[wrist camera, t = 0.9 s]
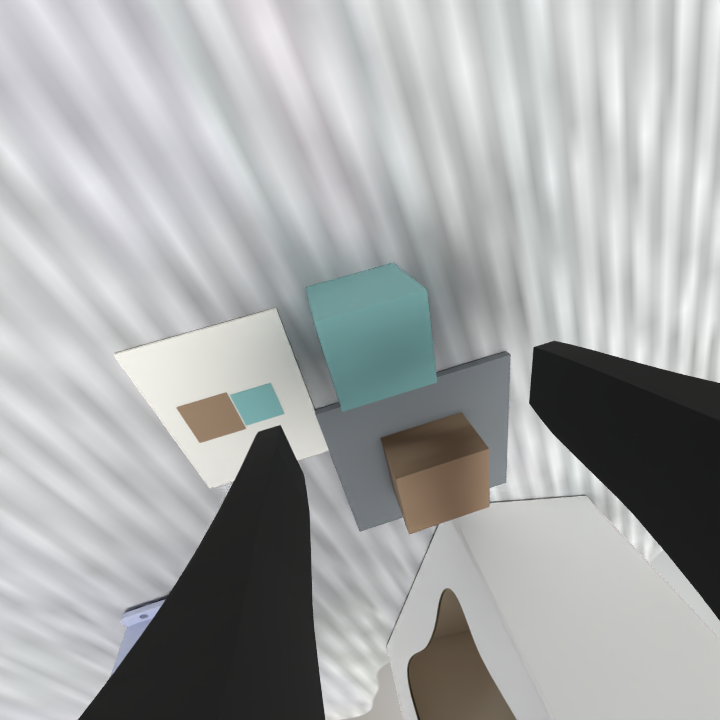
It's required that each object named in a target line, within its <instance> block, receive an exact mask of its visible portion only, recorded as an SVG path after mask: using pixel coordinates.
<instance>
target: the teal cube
mask: <svg viewBox="0 0 720 720" xmlns="http://www.w3.org/2000/svg"><path fill="white" fill-rule="evenodd" d="M306 290H307V295H308V299H309V303H310V308H311V312H312V316H313V321H314V324H315V328H316V331H317V334H318V337H319V340H320V343H321V346H322V350H323V353H324V356H325V359H326V362H327V365H328V368H329V371H330V375H331V378H332V381H333V384H334V387H335V390H336V393H337V397H338V400H339V403H340V406H341V409H342V412H344V411H347V410H350V409H353V408H357V407H360V406H363V405H366V404H369V403H373V402H376V401H379V400H382V399H386V398H389V397H392V396H395V395H398V394H402V393H405V392H408V391H411V390H415V389H418V388H421V387H424V386H428V385H431V384H434V383H437V375H436V366H435V357H434V348H433V339H432V330H431V320H430V311H429V302H428V293H427V289H426V288H424V287H423V286H422V285H421V284H419V283H418V282H417V281H416V280H414V279H413V278H412V277H411V276H409V275H408V274H407V273H406V272H404V271H403V270H402V269H401V268H399V267H398V266H397V265H396V264H394V263H390V264H387V265H383V266H380V267H376V268H373V269H369V270H365V271H362V272H358V273H355V274H351V275H348V276H344V277H340V278H337V279H333V280H330V281H326V282H323V283H319V284H315V285H312V286H308V287H306Z"/></svg>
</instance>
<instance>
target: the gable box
mask: <svg viewBox="0 0 720 720" xmlns="http://www.w3.org/2000/svg"><path fill="white" fill-rule="evenodd" d="M387 650H388V654H389V659H390V663H391V668H392V672H393V677H394V681H395V686H396V690H397V694H398V699H399V703H400V707H401V712H402V717H403V720H720V638H719V637H718V635H717V634H716V633H715V632H714V631H713V630H712V629H711V628H710V627H709V626H708V625H707V624H706V623H705V622H704V621H703V619H702V618H701V617H700V616H699V615H698V614H697V613H696V612H695V611H694V610H693V609H692V608H691V607H690V606H689V605H688V604H687V603H686V601H684V599H683V598H682V597H681V596H680V595H679V594H678V593H677V592H676V591H675V590H674V589H673V588H672V587H671V586H670V585H669V583H668V582H667V581H666V580H665V579H664V578H663V577H662V576H661V575H660V574H659V573H658V572H657V571H656V570H655V569H654V568H653V567H652V565H651V564H650V563H649V562H648V561H647V560H646V559H645V558H644V557H643V556H642V555H641V554H640V553H639V552H638V551H637V549H636V548H635V547H634V546H633V545H632V544H631V543H630V542H629V541H628V540H627V539H626V538H625V537H624V536H623V535H622V534H621V533H620V531H619V530H618V529H617V528H616V527H615V526H614V525H613V524H612V523H611V522H610V521H609V520H608V519H607V518H606V517H605V516H604V514H603V513H602V512H601V511H600V510H599V509H598V508H597V507H596V506H595V505H594V504H593V503H592V502H591V501H590V500H589V499H588V498H587V496H573V497H560V498H547V499H534V500H521V501H508V502H495V503H490V507H488V508H485V509H482V510H479V511H476V512H473V513H470V514H467V515H465V516H462V517H459V518H456V519H453V520H450V521H447V522H444V523H441V524H439V525H438V528H437V530H436V532H435V535H434V537H433V539H432V542H431V544H430V547H429V549H428V551H427V554H426V556H425V558H424V561H423V563H422V565H421V568H420V570H419V572H418V575H417V577H416V579H415V582H414V584H413V586H412V589H411V591H410V593H409V596H408V598H407V600H406V603H405V605H404V607H403V610H402V612H401V614H400V617H399V619H398V621H397V624H396V626H395V628H394V631H393V633H392V635H391V638H390V640H389V642H388V645H387Z"/></svg>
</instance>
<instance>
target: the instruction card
mask: <svg viewBox="0 0 720 720" xmlns="http://www.w3.org/2000/svg"><path fill="white" fill-rule="evenodd" d="M114 357H115V358H116V359H117V361H118V362H119V364H120V365H121V366H122V368H123V369H124V370H125V372H126V373H127V375H128V376H129V377H130V379H131V380H132V382H133V383H134V384H135V386H136V387H137V389H138V390H139V391H140V393H141V394H142V395H143V397H144V398H145V400H146V401H147V402H148V404H149V405H150V407H151V408H152V409H153V411H154V412H155V413H156V415H157V416H158V418H159V419H160V420H161V422H162V423H163V425H164V426H165V427H166V429H167V430H168V432H169V433H170V434H171V436H172V437H173V438H174V440H175V441H176V443H177V444H178V445H179V447H180V448H181V450H182V451H183V452H184V454H185V455H186V457H187V458H188V459H189V461H190V462H191V463H192V465H193V466H194V468H195V469H196V470H197V472H198V473H199V475H200V476H201V477H202V479H203V480H204V481H205V483H206V484H207V486H208V487H209V488H213V487H217V486H220V485H223V484H226V483H229V482H232V481H234V480H235V478H236V476H237V474H238V472H239V470H240V468H241V466H242V463H243V461H244V459H245V457H246V455H247V453H248V451H249V449H250V446H251V444H252V442H253V440H254V438H255V436H256V434H257V433H258V432H259V431H262V430H265V429H269V428H272V427H275V426H278V425H281V427H282V429H283V431H284V433H285V435H286V438H287V440H288V442H289V444H290V446H291V448H292V450H293V453H294V455H295V457H296V459H297V461H299V460H302V459H305V458H308V457H311V456H314V455H318V454H321V453H324V452H327V451H329V449H328V447H327V444H326V441H325V439H324V436H323V433H322V431H321V428H320V426H319V423H318V420H317V418H316V415H315V409H314V407H313V404H312V402H311V399H310V396H309V394H308V391H307V388H306V386H305V383H304V380H303V378H302V375H301V372H300V370H299V367H298V364H297V362H296V359H295V356H294V354H293V351H292V349H291V346H290V343H289V341H288V338H287V335H286V333H285V330H284V327H283V325H282V322H281V319H280V317H279V314H278V311H277V309H276V308H273V309H269V310H266V311H262V312H259V313H255V314H252V315H248V316H245V317H241V318H238V319H234V320H231V321H227V322H224V323H220V324H216V325H213V326H209V327H206V328H202V329H199V330H195V331H192V332H188V333H185V334H181V335H178V336H174V337H171V338H167V339H163V340H160V341H156V342H153V343H149V344H146V345H142V346H139V347H135V348H132V349H128V350H125V351H121V352H118V353H115V354H114Z"/></svg>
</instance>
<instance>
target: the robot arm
mask: <svg viewBox="0 0 720 720" xmlns="http://www.w3.org/2000/svg"><path fill="white" fill-rule="evenodd" d="M529 404H530V405H531V406H532V408H533V409H534V410H535V412H536V413H537V415H538V416H539V417H540V419H541V420H542V421H543V422H544V424H545V425H546V426H547V427H548V428H549V430H550V431H551V432H552V433H553V434H554V435H555V436H556V437H557V438H558V439H559V440H560V441H561V442H562V443H563V444H564V445H565V446H566V447H567V448H568V449H569V450H570V451H571V452H572V453H573V454H574V455H575V456H576V457H577V458H578V459H579V460H580V461H581V462H582V463H583V464H584V465H585V466H586V467H587V468H588V469H589V470H590V471H591V472H592V473H593V474H594V475H595V476H596V477H597V478H598V479H599V480H600V481H601V482H602V483H603V484H604V485H605V486H606V487H607V488H608V489H609V490H610V491H611V492H612V493H613V494H614V495H615V496H616V497H617V498H618V499H619V500H620V501H621V502H622V503H623V504H624V505H625V506H626V507H627V508H628V509H629V510H630V511H631V512H632V513H633V514H634V516H635V517H636V518H637V519H638V520H639V521H640V523H641V524H642V525H643V526H644V527H645V528H646V530H647V531H648V532H649V533H650V534H651V536H652V537H653V538H654V539H655V540H656V541H657V543H658V544H659V545H660V546H661V547H662V548H663V550H664V551H665V552H666V553H667V554H668V555H669V557H670V558H671V559H672V560H673V562H674V563H675V564H676V566H677V567H678V568H679V569H680V571H681V572H682V573H683V574H684V575H685V577H686V578H687V579H688V580H689V582H690V583H691V584H692V585H693V587H694V588H695V589H696V590H697V592H699V594H700V595H701V596H702V598H703V599H704V601H705V602H706V603H707V604H708V606H709V607H710V608H711V610H712V611H713V612H714V614H715V615H716V616H717V618H718V619H719V620H720V383H717V382H713V381H708V380H704V379H700V378H696V377H691V376H687V375H683V374H679V373H675V372H671V371H667V370H663V369H659V368H656V367H652V366H648V365H644V364H641V363H637V362H633V361H630V360H626V359H622V358H619V357H615V356H612V355H608V354H604V353H601V352H597V351H593V350H590V349H586V348H582V347H578V346H574V345H570V344H566V343H562V342H557V341H552V342H549V343H546V344H543V345H539V346H536V347H534V350H533V362H532V375H531V387H530V400H529ZM121 623H122V624H123V625H125V626H126V627H127V629H126V632H125V635H124V638H123V641H122V644H121V647H120V650H119V653H118V656H117V659H116V662H115V665H114V668H113V671H112V674H111V677H110V678H109V680H108V681H107V683H106V684H105V685H104V687H103V688H102V689H101V691H100V692H99V693H98V695H97V696H96V697H95V699H94V700H93V701H92V702H91V704H90V705H89V706H88V708H87V709H86V710H85V711H84V713H83V714H82V715H81V717H80V718H79V719H78V720H325V714H324V707H323V699H322V691H321V683H320V675H319V666H318V658H317V649H316V641H315V632H314V620H313V606H312V575H311V542H310V515H309V505H308V498H307V491H306V485H305V478H304V474H303V472H302V470H301V468H300V465H299V463H298V461H297V459H296V457H295V455H294V453H293V450H292V448H291V446H290V444H289V442H288V440H287V438H286V435H285V433H284V431H283V429H282V427H281V425H278V426H275V427H272V428H269V429H265V430H262V431H259V432H258V433H257V434H256V436H255V438H254V440H253V442H252V444H251V446H250V449H249V451H248V453H247V455H246V457H245V459H244V461H243V463H242V466H241V468H240V470H239V472H238V474H237V476H236V478H235V480H234V482H233V484H232V486H231V488H230V490H229V492H228V494H227V496H226V498H225V500H224V502H223V504H222V506H221V507H220V509H219V511H218V513H217V515H216V517H215V518H214V520H213V522H212V524H211V526H210V527H209V529H208V531H207V533H206V534H205V536H204V538H203V540H202V541H201V543H200V545H199V547H198V549H197V550H196V552H195V554H194V555H193V557H192V559H191V560H190V562H189V564H188V565H187V567H186V568H185V570H184V572H183V573H182V575H181V576H180V578H179V580H178V581H177V583H176V584H175V586H174V587H173V589H172V590H171V592H170V593H169V595H168V597H167V598H166V599H164V600H161V601H159V602H156V603H153V604H150V605H147V606H144V607H141V608H138V609H135V610H132V611H129V612H126V613H125V614H123V616H122V619H121Z"/></svg>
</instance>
